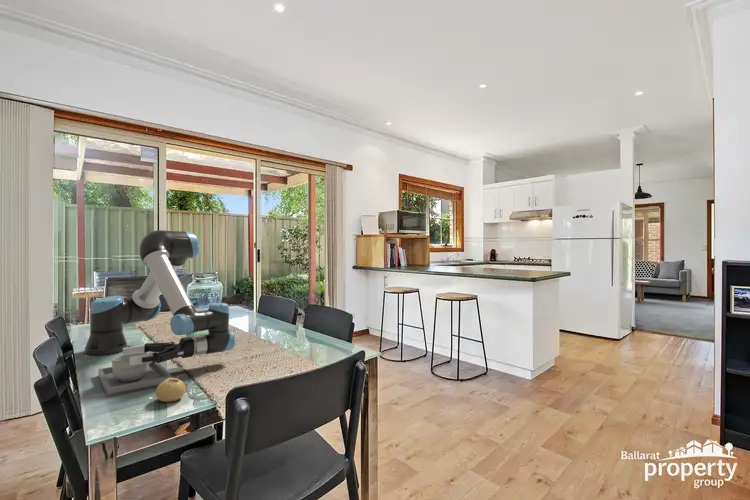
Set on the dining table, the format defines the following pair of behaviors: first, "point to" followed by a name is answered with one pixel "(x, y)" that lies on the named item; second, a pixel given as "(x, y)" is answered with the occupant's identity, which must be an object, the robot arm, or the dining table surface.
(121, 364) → the teacup
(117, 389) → the tray
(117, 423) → the dining table surface
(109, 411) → the dining table surface
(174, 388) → the onion
